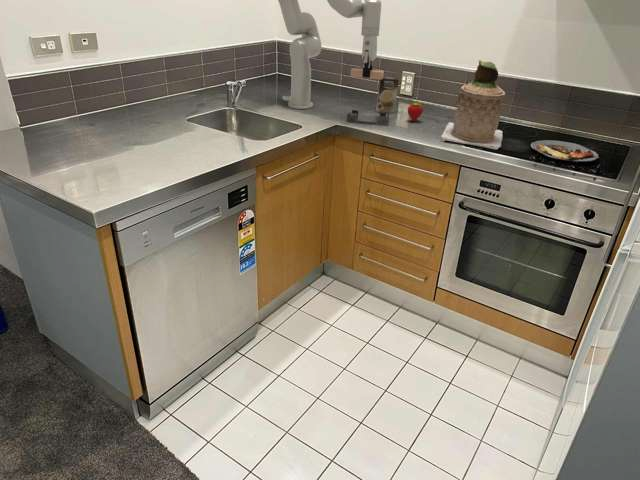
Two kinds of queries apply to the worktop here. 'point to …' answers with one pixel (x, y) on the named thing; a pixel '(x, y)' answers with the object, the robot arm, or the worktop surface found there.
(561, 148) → the food plate
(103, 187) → the worktop surface
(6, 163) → the worktop surface
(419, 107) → the strawberry
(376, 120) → the drying rack
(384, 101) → the coffee box
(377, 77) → the clay strip
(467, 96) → the cookie jar
